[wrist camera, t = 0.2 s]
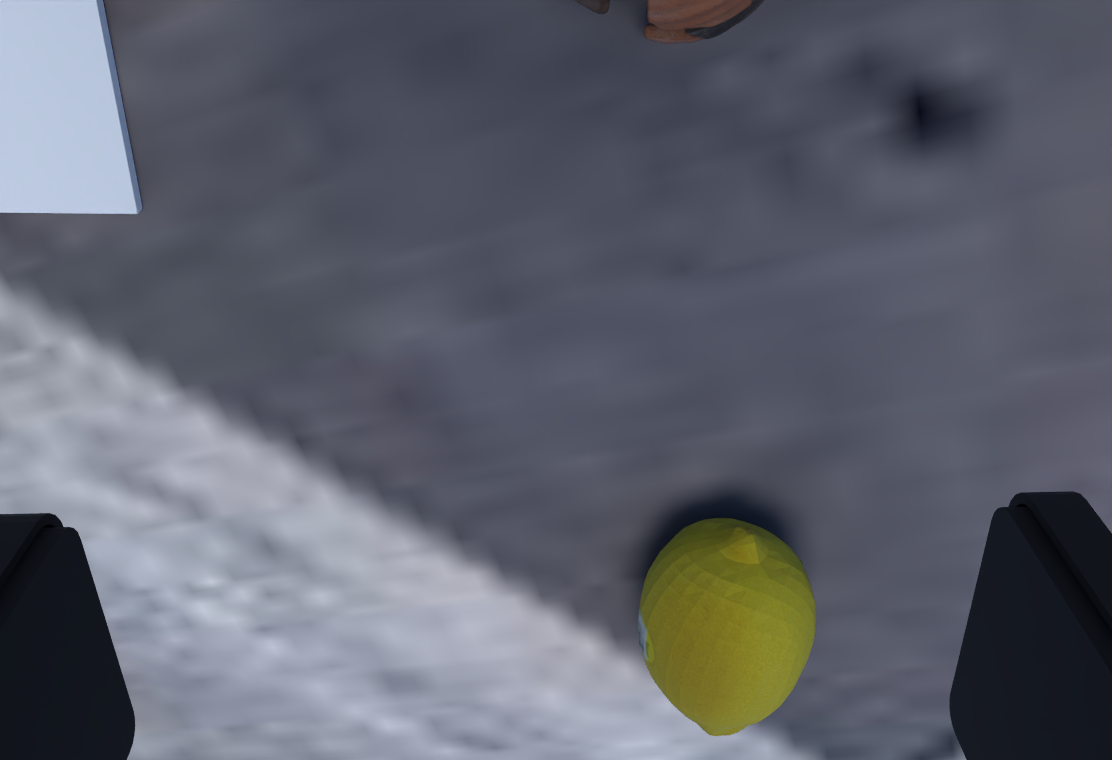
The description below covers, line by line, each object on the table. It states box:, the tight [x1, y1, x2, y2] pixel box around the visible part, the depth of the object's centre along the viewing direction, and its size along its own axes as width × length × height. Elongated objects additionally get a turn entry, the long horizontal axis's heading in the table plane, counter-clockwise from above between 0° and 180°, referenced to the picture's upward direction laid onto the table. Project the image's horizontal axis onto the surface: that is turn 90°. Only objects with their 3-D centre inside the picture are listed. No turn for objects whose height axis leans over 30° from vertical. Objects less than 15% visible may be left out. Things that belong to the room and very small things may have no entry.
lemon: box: [638, 518, 816, 736], centre depth 47 cm, size 11×8×8 cm
